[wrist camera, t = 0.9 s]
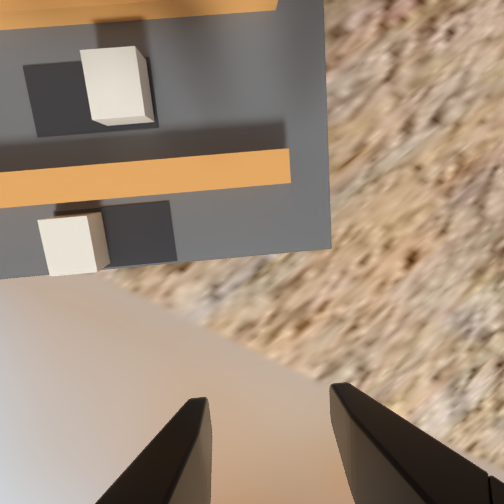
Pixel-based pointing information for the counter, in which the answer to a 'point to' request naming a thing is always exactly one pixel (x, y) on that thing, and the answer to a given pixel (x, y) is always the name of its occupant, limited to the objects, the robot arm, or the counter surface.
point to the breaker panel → (169, 139)
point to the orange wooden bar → (144, 178)
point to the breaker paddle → (117, 85)
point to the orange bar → (115, 10)
